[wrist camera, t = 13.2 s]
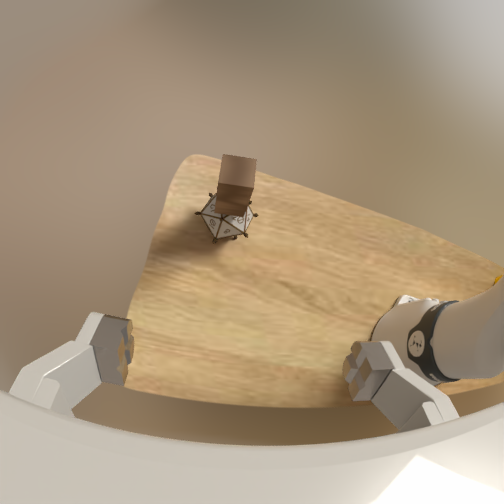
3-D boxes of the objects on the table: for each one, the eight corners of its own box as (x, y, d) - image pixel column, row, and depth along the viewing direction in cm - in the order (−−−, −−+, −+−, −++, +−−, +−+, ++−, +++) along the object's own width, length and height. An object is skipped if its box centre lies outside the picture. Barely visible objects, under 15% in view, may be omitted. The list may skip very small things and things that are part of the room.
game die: (233, 228, 53) (278, 206, 47) (214, 263, 47) (263, 243, 41) (198, 190, 49) (241, 162, 43) (174, 223, 44) (219, 195, 37)
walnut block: (246, 191, 42) (256, 159, 35) (243, 217, 41) (253, 187, 34) (218, 187, 42) (222, 154, 34) (214, 213, 40) (218, 182, 33)
